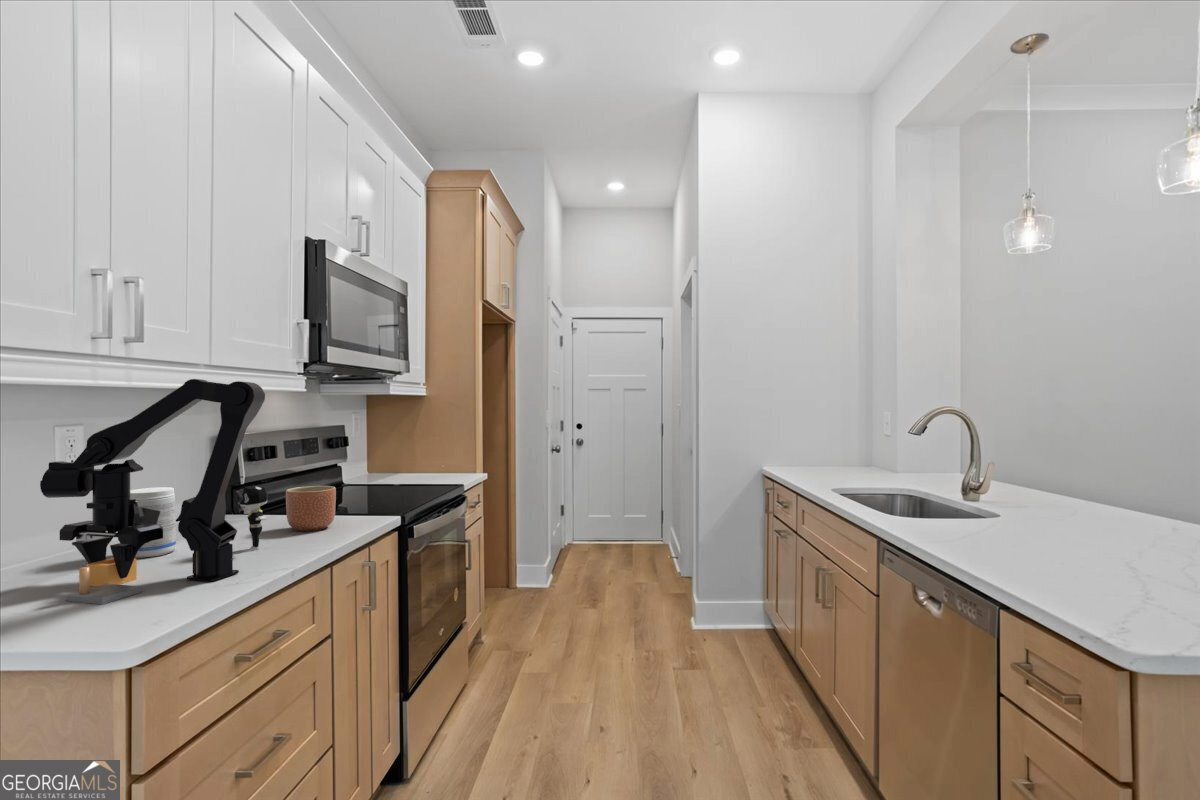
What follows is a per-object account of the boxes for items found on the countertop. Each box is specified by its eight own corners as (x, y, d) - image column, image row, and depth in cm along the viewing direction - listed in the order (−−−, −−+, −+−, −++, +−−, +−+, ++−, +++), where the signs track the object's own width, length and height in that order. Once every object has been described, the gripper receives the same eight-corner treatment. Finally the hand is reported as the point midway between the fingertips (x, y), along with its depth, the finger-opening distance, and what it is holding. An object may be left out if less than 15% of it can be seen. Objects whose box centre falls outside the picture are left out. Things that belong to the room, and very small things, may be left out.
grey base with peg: (141, 591, 112) (141, 561, 112) (102, 604, 105) (102, 572, 105) (107, 588, 114) (107, 559, 114) (66, 600, 107) (66, 569, 107)
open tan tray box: (136, 579, 120) (136, 558, 120) (108, 587, 114) (108, 566, 114) (115, 577, 121) (114, 557, 121) (86, 585, 116) (86, 564, 116)
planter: (332, 522, 176) (332, 484, 176) (339, 530, 165) (339, 489, 165) (283, 527, 169) (283, 487, 169) (288, 535, 159) (288, 493, 159)
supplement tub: (185, 548, 145) (184, 486, 145) (158, 558, 136) (158, 492, 136) (142, 549, 144) (142, 486, 145) (112, 559, 135) (112, 492, 135)
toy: (233, 546, 147) (232, 483, 147) (261, 542, 151) (261, 481, 151) (246, 556, 137) (246, 489, 137) (276, 552, 141) (276, 486, 141)
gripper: (188, 491, 123) (188, 568, 123) (115, 488, 128) (116, 563, 128) (134, 500, 113) (134, 584, 113) (57, 496, 117) (57, 578, 117)
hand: (111, 576), depth 118 cm, fingers closed on open tan tray box, 5 cm apart
